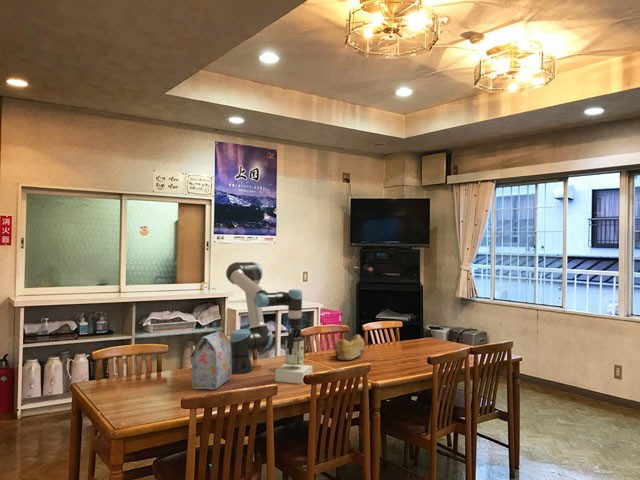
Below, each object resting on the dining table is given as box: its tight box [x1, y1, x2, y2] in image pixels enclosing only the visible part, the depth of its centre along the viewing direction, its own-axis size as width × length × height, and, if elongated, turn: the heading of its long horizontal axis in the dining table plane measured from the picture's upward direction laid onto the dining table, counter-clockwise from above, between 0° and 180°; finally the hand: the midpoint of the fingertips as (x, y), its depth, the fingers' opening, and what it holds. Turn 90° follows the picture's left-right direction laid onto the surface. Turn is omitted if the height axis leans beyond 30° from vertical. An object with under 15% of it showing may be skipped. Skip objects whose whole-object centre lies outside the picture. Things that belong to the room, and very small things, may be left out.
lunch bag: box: [189, 330, 233, 391], centre depth 253 cm, size 22×17×26 cm
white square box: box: [274, 363, 313, 385], centre depth 266 cm, size 16×16×6 cm
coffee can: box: [284, 336, 305, 365], centre depth 266 cm, size 10×10×14 cm
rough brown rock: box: [334, 333, 366, 361], centre depth 321 cm, size 23×17×15 cm
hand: (294, 358), depth 266 cm, fingers closed on coffee can, 10 cm apart
